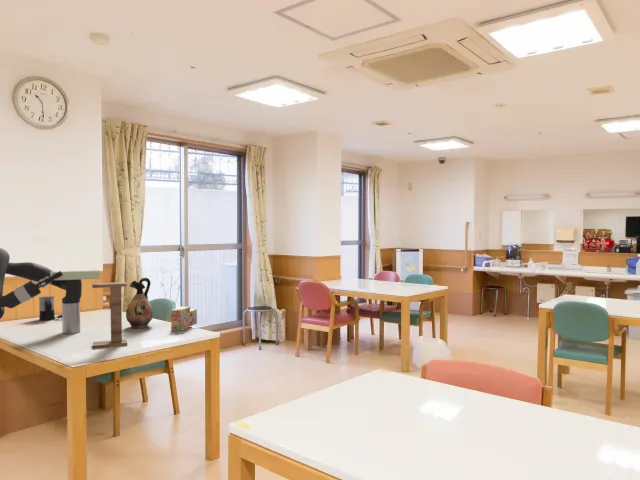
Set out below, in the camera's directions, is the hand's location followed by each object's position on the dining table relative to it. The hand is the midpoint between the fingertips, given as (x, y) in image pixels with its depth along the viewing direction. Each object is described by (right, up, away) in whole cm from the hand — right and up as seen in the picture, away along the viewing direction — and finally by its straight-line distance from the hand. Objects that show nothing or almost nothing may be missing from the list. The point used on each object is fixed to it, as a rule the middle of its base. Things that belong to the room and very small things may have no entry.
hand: (61, 272), depth 246 cm
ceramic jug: (+19, -37, +56) cm, 70 cm away
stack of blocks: (+46, -37, +56) cm, 81 cm away
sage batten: (+5, -3, +3) cm, 7 cm away
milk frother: (-47, -36, +80) cm, 99 cm away
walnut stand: (+20, -38, +11) cm, 44 cm away
